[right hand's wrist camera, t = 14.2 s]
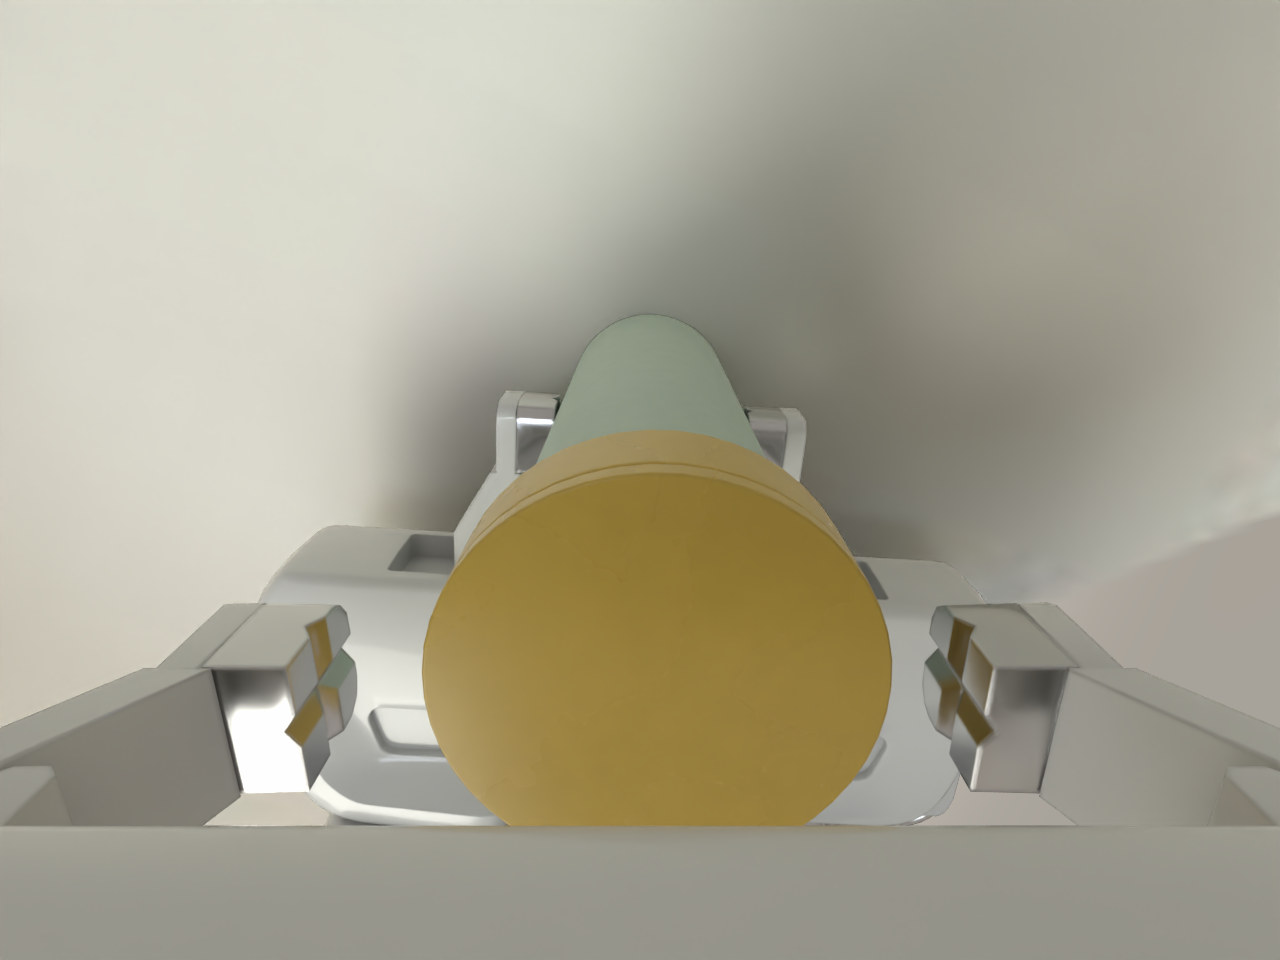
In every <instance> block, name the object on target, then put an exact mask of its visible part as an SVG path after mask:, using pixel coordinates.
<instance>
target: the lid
mask: <svg viewBox="0 0 1280 960" xmlns="http://www.w3.org/2000/svg"><path fill="white" fill-rule="evenodd" d="M422 682H423V693H424V701H425V705H426V709H427V713H428V717H429V721H430V725H431V727H432V730H433V732H434V735H435V737H436V739H437V742H438V744H439V747H440V749H441V751H442V752H443V754H444V756H445V757H446V759H447V761H448V763H449V764H450V766H451V768H452V769H453V771H454V772H455V773H456V775H457V776H458V777H459V779H460V780H461V781H462V782H463V784H464V785H465V786H466V787H467V789H468V790H469V791H470V792H471V793H472V794H473V795H474V796H475V797H476V798H477V799H478V800H479V801H480V802H481V803H482V804H483V805H484V806H485V807H486V808H487V809H488V810H490V811H491V812H492V813H493V814H495V815H496V816H497V817H499V818H500V819H501V820H503V821H504V822H505V823H506V824H508V825H509V826H803V825H805V824H806V823H808V822H809V821H811V820H812V819H814V818H815V817H816V816H817V815H818V814H820V813H821V812H822V811H823V810H824V809H825V808H827V807H828V806H829V805H830V804H831V803H832V802H834V801H835V800H836V799H837V797H838V796H839V795H840V794H841V793H842V792H843V791H844V790H845V789H846V788H847V786H848V785H849V784H850V783H851V782H852V781H853V779H854V778H855V777H856V775H857V774H858V772H859V771H860V769H861V768H862V766H863V765H864V764H865V762H866V761H867V759H868V757H869V755H870V753H871V751H872V749H873V747H874V745H875V743H876V741H877V739H878V737H879V735H880V732H881V729H882V726H883V723H884V720H885V717H886V714H887V710H888V704H889V698H890V693H891V687H892V653H891V646H890V639H889V632H888V629H887V626H886V623H885V619H884V616H883V613H882V610H881V607H880V604H879V602H878V600H877V598H876V596H875V594H874V592H873V590H872V588H871V586H870V584H869V582H868V580H867V578H866V577H865V575H864V573H863V572H862V570H861V569H860V567H859V565H858V563H857V562H856V560H855V558H854V557H853V555H852V553H851V552H850V550H849V548H848V546H847V545H846V543H845V541H844V540H843V538H842V536H841V535H840V533H839V531H838V530H837V528H836V526H835V525H834V523H833V522H832V520H831V519H830V517H829V516H828V514H827V513H826V512H825V510H824V509H823V507H822V506H821V504H820V503H819V502H818V501H817V500H816V499H815V498H814V497H813V496H812V495H811V493H810V492H809V491H808V490H807V489H806V488H805V487H804V486H803V485H802V484H801V483H799V482H798V481H797V480H796V479H795V478H793V477H792V476H791V475H790V474H788V473H787V472H786V471H785V470H784V469H782V468H781V467H779V466H777V465H776V464H774V463H772V462H771V461H769V460H768V459H766V458H764V457H763V456H761V455H759V454H757V453H755V452H753V451H750V450H748V449H746V448H744V447H741V446H739V445H737V444H734V443H732V442H728V441H725V440H721V439H718V438H714V437H711V436H708V435H703V434H697V433H690V432H684V431H677V430H639V431H629V432H619V433H615V434H610V435H606V436H601V437H597V438H593V439H589V440H587V441H584V442H581V443H578V444H576V445H573V446H570V447H568V448H565V449H563V450H561V451H559V452H557V453H555V454H553V455H551V456H549V457H548V458H546V459H544V460H542V461H540V462H539V463H537V464H536V465H534V466H533V467H532V468H530V469H529V470H527V471H526V472H524V473H523V474H522V475H520V476H519V477H518V478H516V479H515V480H514V481H513V482H512V483H511V484H510V485H509V486H508V487H507V488H506V489H505V490H504V491H503V492H502V493H500V494H499V495H498V497H497V498H496V499H495V500H494V502H493V503H492V504H491V505H490V507H489V508H488V509H487V510H486V512H485V513H484V514H483V516H482V517H481V519H480V521H479V522H478V524H477V526H476V527H475V529H474V531H473V532H472V534H471V536H470V538H469V540H468V542H467V543H466V545H465V547H464V549H463V551H462V553H461V555H460V557H459V559H458V561H457V562H456V564H455V566H454V568H453V570H452V572H451V574H450V576H449V578H448V580H447V582H446V583H445V585H444V587H443V589H442V591H441V593H440V595H439V597H438V600H437V602H436V605H435V607H434V610H433V612H432V615H431V617H430V620H429V624H428V628H427V633H426V637H425V641H424V646H423V660H422Z"/></svg>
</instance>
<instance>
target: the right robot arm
mask: <svg viewBox="0 0 1280 960" xmlns="http://www.w3.org/2000/svg"><path fill="white" fill-rule="evenodd" d="M350 634H351V632H350V626H349V621H348V616H347V612H346V611H345V610H344V609H343V607H342V606H341V605H324V604H271V603H270V604H266V603H234V604H226V605H223V606H222V607H221V608H220V609H219V610H218V611H217V612H216V613H215V614H214V615H213V616H211V617H210V618H209V619H208V620H207V621H206V622H205V623H204V624H203V625H202V626H201V627H200V628H199V629H198V630H196V631H195V632H194V633H193V634H192V635H191V636H190V637H189V638H188V639H187V640H186V641H185V642H184V643H183V644H182V645H180V646H179V647H178V648H177V649H176V650H175V651H174V652H173V653H172V654H171V655H170V656H169V657H168V658H167V659H165V660H164V661H163V662H162V663H161V664H160V665H159V666H158V667H157V668H143V669H141V670H138V671H136V672H134V673H131V674H129V675H126V676H124V677H122V678H119V679H117V680H114V681H112V682H110V683H107V684H105V685H102V686H100V687H98V688H95V689H93V690H90V691H88V692H86V693H83V694H81V695H78V696H76V697H73V698H71V699H69V700H66V701H64V702H61V703H59V704H57V705H54V706H52V707H49V708H47V709H45V710H42V711H40V712H37V713H35V714H33V715H30V716H28V717H25V718H23V719H21V720H18V721H16V722H13V723H11V724H8V725H6V726H4V727H1V728H0V960H1280V728H1278V727H1276V726H1274V725H1271V724H1269V723H1266V722H1264V721H1262V720H1259V719H1257V718H1254V717H1252V716H1250V715H1247V714H1245V713H1242V712H1240V711H1237V710H1235V709H1233V708H1230V707H1228V706H1226V705H1223V704H1221V703H1218V702H1216V701H1214V700H1211V699H1209V698H1206V697H1204V696H1202V695H1199V694H1197V693H1194V692H1192V691H1189V690H1187V689H1185V688H1182V687H1180V686H1177V685H1175V684H1173V683H1170V682H1168V681H1166V680H1163V679H1161V678H1158V677H1156V676H1154V675H1151V674H1149V673H1146V672H1144V671H1141V670H1139V669H1137V668H1123V667H1122V666H1121V665H1120V664H1119V663H1118V662H1117V661H1116V660H1115V659H1114V658H1112V657H1111V656H1110V655H1109V654H1108V653H1107V652H1106V651H1105V650H1104V649H1103V648H1102V647H1101V646H1100V645H1099V644H1097V643H1096V642H1095V641H1094V640H1093V639H1092V638H1091V637H1090V636H1089V635H1088V634H1087V633H1086V632H1085V631H1084V630H1083V629H1082V628H1080V627H1079V626H1078V625H1077V624H1076V623H1075V622H1074V621H1073V620H1072V619H1071V618H1070V617H1069V616H1068V615H1067V614H1066V613H1064V612H1063V611H1062V610H1061V609H1060V608H1059V607H1058V606H1057V605H1054V604H1050V603H1025V604H1017V603H1016V604H974V605H944V606H937V607H936V609H935V612H934V614H933V616H932V620H931V625H930V631H929V634H930V636H931V637H932V639H933V640H934V642H935V643H936V645H937V646H938V648H937V649H936V650H935V652H934V653H933V654H932V655H931V656H930V657H929V658H928V659H927V660H926V661H925V663H924V672H923V680H922V686H923V697H924V704H925V708H926V711H927V714H928V717H929V719H930V721H931V723H932V725H933V727H934V728H935V730H936V731H937V732H939V733H940V734H942V735H943V736H945V737H946V738H948V739H950V740H951V746H950V752H949V755H950V757H951V758H952V760H953V762H954V764H955V765H956V767H957V769H958V770H959V772H960V774H961V776H962V777H963V779H964V781H965V783H966V784H967V786H968V788H969V789H970V791H971V792H1007V793H1040V795H1039V797H1041V798H1042V799H1043V800H1045V801H1046V802H1047V803H1048V804H1050V805H1051V806H1052V807H1054V808H1055V809H1056V810H1058V811H1059V812H1060V813H1062V814H1063V815H1064V816H1066V817H1067V818H1068V819H1070V820H1071V821H1072V822H1074V823H1075V824H1076V825H1078V826H203V825H204V824H205V823H207V822H208V821H209V820H211V819H212V818H213V817H215V816H216V815H217V814H219V813H220V812H221V811H223V810H224V809H225V808H227V807H228V806H229V805H230V804H232V803H233V802H234V801H236V800H237V799H238V798H240V796H241V795H240V793H273V792H308V791H310V790H311V788H312V786H313V784H314V783H315V781H316V779H317V777H318V776H319V774H320V772H321V770H322V769H323V767H324V765H325V764H326V762H327V760H328V758H329V757H330V755H331V752H330V746H329V740H330V739H332V738H334V737H335V736H337V735H338V734H340V733H341V732H343V731H344V730H345V728H346V726H347V725H348V723H349V721H350V719H351V717H352V715H353V710H354V706H355V702H356V698H357V679H358V677H357V670H356V663H355V661H354V660H353V659H352V658H351V657H350V656H349V655H348V654H347V653H346V652H345V650H344V649H343V648H342V646H343V645H344V643H345V642H346V640H347V639H348V637H349V636H350Z"/></svg>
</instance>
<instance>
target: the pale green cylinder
mask: <svg viewBox="0 0 1280 960" xmlns="http://www.w3.org/2000/svg"><path fill="white" fill-rule="evenodd" d="M639 430H677V431H684V432H690V433H697V434H703V435H708V436H711V437H714V438H718V439H721V440H725V441H728V442H732V443H734V444H737V445H739V446H741V447H744V448H746V449H748V450H750V451H753V452H755V453H757V454H759V455H761V456H763V457H764V458H766V457H765V455H764V453H763V451H762V448H761V446H760V444H759V442H758V440H757V438H756V436H755V434H754V432H753V430H752V428H751V426H750V423H749V421H748V419H747V417H746V415H745V413H744V411H743V409H742V407H741V405H740V403H739V401H738V398H737V396H736V394H735V392H734V390H733V388H732V386H731V384H730V382H729V380H728V378H727V376H726V373H725V371H724V369H723V367H722V365H721V363H720V361H719V359H718V357H717V355H716V353H715V351H714V350H713V348H712V347H711V345H710V344H709V342H708V341H707V340H706V339H705V338H704V337H703V336H702V335H701V334H700V333H699V332H697V331H696V330H695V329H694V328H692V327H690V326H689V325H687V324H686V323H683V322H681V321H679V320H677V319H674V318H670V317H667V316H661V315H648V314H646V315H636V316H632V317H628V318H625V319H622V320H620V321H617V322H615V323H613V324H612V325H610V326H608V327H607V328H605V329H604V330H603V331H601V332H600V333H599V334H598V335H597V336H596V337H595V338H594V339H593V340H592V341H591V342H590V344H589V345H588V346H587V347H586V349H585V351H584V352H583V354H582V356H581V358H580V361H579V363H578V365H577V368H576V370H575V373H574V375H573V377H572V380H571V382H570V384H569V387H568V389H567V392H566V394H565V396H564V399H563V401H562V404H561V406H560V408H559V411H558V413H557V415H556V418H555V420H554V423H553V425H552V427H551V430H550V432H549V435H548V437H547V439H546V442H545V444H544V447H543V449H542V451H541V454H540V456H539V458H538V461H537V463H539V462H540V461H542V460H544V459H546V458H548V457H549V456H551V455H553V454H555V453H557V452H559V451H561V450H563V449H565V448H568V447H570V446H573V445H576V444H578V443H581V442H584V441H587V440H589V439H593V438H597V437H601V436H606V435H610V434H615V433H619V432H629V431H639ZM537 463H536V464H537Z"/></svg>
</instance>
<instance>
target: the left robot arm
mask: <svg viewBox="0 0 1280 960" xmlns="http://www.w3.org/2000/svg"><path fill="white" fill-rule="evenodd" d="M561 404H562V399H561V394H550V393H538V392H525V391H507V390H506V391H505V392H504V394H503V395H502V397H501V398H500V399H499V402H498V408H497V415H496V463H495V465H494V466H493V468H492V470H491V471H490V473H489V474H488V476H487V478H486V479H485V481H484V482H483V484H482V486H481V487H480V489H479V491H478V492H477V494H476V495H475V497H474V499H473V500H472V502H471V503H470V505H469V507H468V509H467V510H466V512H465V514H464V515H463V517H462V519H461V520H460V522H459V524H458V526H457V527H456V529H455V531H454V532H443V531H427V530H410V529H394V528H377V527H361V526H347V525H333V526H327V527H325V528H323V529H321V530H320V531H318V532H317V533H316V534H315V535H313V536H312V537H311V538H310V539H309V540H308V541H307V542H306V543H304V544H303V545H302V546H301V547H300V548H299V549H298V550H297V551H295V552H294V553H293V554H292V555H291V556H290V557H289V558H288V559H287V560H286V562H285V563H284V564H283V565H282V566H281V567H280V568H279V569H278V570H277V572H276V573H275V574H274V576H273V577H272V578H271V579H270V581H269V582H268V584H267V585H266V587H265V588H264V590H263V592H262V594H261V597H260V599H259V603H266V604H270V603H271V604H324V605H341V606H342V607H343V609H344V610H345V611H346V612H347V616H348V621H349V626H350V632H351V634H350V636H349V637H348V639H347V640H346V642H345V643H344V645H343V646H342V648H343V649H344V650H345V652H346V653H347V654H348V655H349V656H350V657H351V658H352V659H353V660H354V661H355V663H356V670H357V677H358V679H357V698H356V702H355V706H354V710H353V715H352V717H351V719H350V721H349V723H348V725H347V726H346V728H345V730H344V731H343V732H341V733H340V734H338V735H337V736H335V737H334V738H332V739H330V740H329V746H330V752H331V755H330V757H329V758H328V760H327V762H326V764H325V765H324V767H323V769H322V770H321V772H320V774H319V776H318V777H317V779H316V781H315V783H314V784H313V786H312V788H311V790H310V791H308V792H305V794H306V795H307V796H308V797H309V798H310V799H311V800H312V801H314V802H315V803H316V804H318V805H319V806H320V807H322V808H323V809H325V810H327V811H329V815H328V818H327V820H326V823H325V826H509V825H508V824H506V823H505V822H504V821H503V820H501V819H500V818H499V817H497V816H496V815H495V814H493V813H492V812H491V811H490V810H488V809H487V808H486V807H485V806H484V805H483V804H482V803H481V802H480V801H479V800H478V799H477V798H476V797H475V796H474V795H473V794H472V793H471V792H470V791H469V790H468V789H467V787H466V786H465V785H464V784H463V782H462V781H461V780H460V779H459V777H458V776H457V775H456V773H455V772H454V771H453V769H452V768H451V766H450V764H449V763H448V761H447V759H446V757H445V756H444V754H443V752H442V751H441V749H440V747H439V744H438V742H437V739H436V737H435V735H434V732H433V730H432V727H431V725H430V721H429V717H428V713H427V709H426V705H425V701H424V693H423V682H422V660H423V646H424V641H425V637H426V633H427V628H428V624H429V620H430V617H431V615H432V612H433V610H434V607H435V605H436V602H437V600H438V597H439V595H440V593H441V591H442V589H443V587H444V585H445V583H446V582H447V580H448V578H449V576H450V574H451V572H452V570H453V568H454V566H455V564H456V562H457V561H458V559H459V557H460V555H461V553H462V551H463V549H464V547H465V545H466V543H467V542H468V540H469V538H470V536H471V534H472V532H473V531H474V529H475V527H476V526H477V524H478V522H479V521H480V519H481V517H482V516H483V514H484V513H485V512H486V510H487V509H488V508H489V507H490V505H491V504H492V503H493V502H494V500H495V499H496V498H497V497H498V495H499V494H500V493H502V492H503V491H504V490H505V489H506V488H507V487H508V486H509V485H510V484H511V483H512V482H513V481H514V480H515V479H516V478H518V477H519V476H520V475H521V474H522V473H524V472H526V471H527V470H529V469H530V468H532V467H533V466H534V465H536V463H537V461H538V458H539V456H540V454H541V451H542V449H543V447H544V444H545V442H546V439H547V437H548V435H549V432H550V430H551V427H552V425H553V423H554V420H555V418H556V415H557V413H558V411H559V408H560V406H561ZM742 409H743V411H744V413H745V415H746V417H747V419H748V421H749V423H750V426H751V428H752V430H753V432H754V434H755V436H756V438H757V440H758V442H759V444H760V446H761V448H762V451H763V453H764V455H765V457H766V459H768V460H769V461H771V462H772V463H774V464H776V465H777V466H779V467H781V468H782V469H784V470H785V471H786V472H787V473H788V474H790V475H791V476H792V477H793V478H795V479H796V480H797V481H798V482H799V483H800V479H801V472H802V465H803V458H804V452H805V445H806V438H807V429H806V420H805V418H804V417H803V415H802V414H801V413H800V411H799V410H798V409H796V408H779V407H762V406H743V408H742ZM853 557H854V558H855V560H856V562H857V563H858V565H859V567H860V569H861V570H862V572H863V573H864V575H865V577H866V578H867V580H868V582H869V584H870V586H871V588H872V590H873V592H874V594H875V596H876V598H877V600H878V602H879V604H880V607H881V610H882V613H883V616H884V619H885V623H886V626H887V629H888V632H889V639H890V646H891V653H892V687H891V693H890V698H889V704H888V710H887V714H886V717H885V720H884V723H883V726H882V729H881V732H880V735H879V737H878V739H877V741H876V743H875V745H874V747H873V749H872V751H871V753H870V755H869V757H868V759H867V761H866V762H865V764H864V765H863V766H862V768H861V769H860V771H859V772H858V774H857V775H856V777H855V778H854V779H853V781H852V782H851V783H850V784H849V785H848V786H847V788H846V789H845V790H844V791H843V792H842V793H841V794H840V795H839V796H838V797H837V799H836V800H835V801H834V802H832V803H831V804H830V805H829V806H828V807H827V808H825V809H824V810H823V811H822V812H821V813H820V814H818V815H817V816H816V817H815V818H814V819H812V820H811V821H809V822H808V823H806V824H805V825H803V826H908V825H913V824H916V823H920V822H922V821H924V820H926V819H928V818H930V817H932V816H939V815H941V814H943V813H944V812H945V811H946V810H947V809H948V807H949V806H950V804H951V802H952V800H953V798H954V795H955V791H956V787H957V784H958V780H959V776H960V772H959V770H958V769H957V767H956V765H955V764H954V762H953V760H952V758H951V757H950V755H949V752H950V746H951V740H950V739H948V738H946V737H945V736H943V735H942V734H940V733H939V732H937V731H936V730H935V728H934V727H933V725H932V723H931V721H930V719H929V717H928V714H927V711H926V708H925V704H924V697H923V686H922V680H923V672H924V663H925V661H926V660H927V659H928V658H929V657H930V656H931V655H932V654H933V653H934V652H935V650H936V649H937V648H938V646H937V645H936V643H935V642H934V640H933V639H932V637H931V636H930V634H929V631H930V625H931V620H932V616H933V614H934V612H935V609H936V607H937V606H944V605H974V604H986V602H985V601H984V600H983V598H982V597H981V596H980V595H979V594H978V592H977V591H976V590H975V589H974V588H973V587H972V586H971V585H970V584H969V583H968V582H967V581H966V580H965V579H964V577H963V576H962V575H961V574H960V573H959V572H958V571H957V570H956V569H954V568H953V567H952V566H950V565H948V564H946V563H943V562H937V561H925V560H909V559H892V558H875V557H858V556H853Z"/></svg>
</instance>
